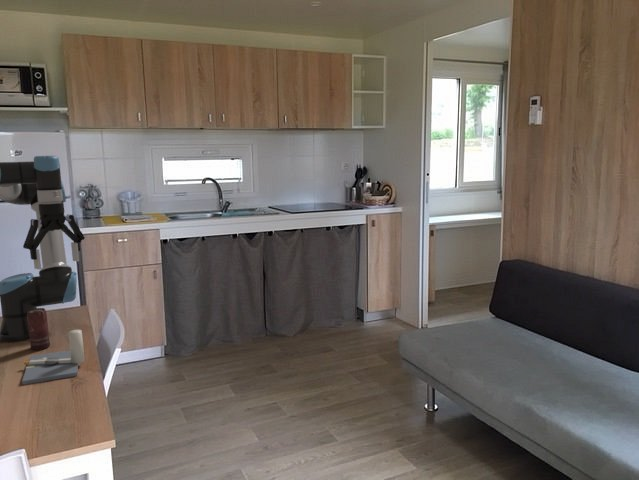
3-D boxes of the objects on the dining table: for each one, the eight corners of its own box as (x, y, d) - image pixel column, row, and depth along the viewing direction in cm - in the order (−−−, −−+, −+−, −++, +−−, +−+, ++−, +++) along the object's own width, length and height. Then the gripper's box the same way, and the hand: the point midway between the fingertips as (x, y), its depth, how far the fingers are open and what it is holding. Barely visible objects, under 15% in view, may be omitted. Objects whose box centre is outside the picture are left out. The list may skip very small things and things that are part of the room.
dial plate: (30, 359, 179) (29, 355, 179) (79, 352, 184) (79, 348, 184) (21, 385, 159) (21, 380, 158) (77, 375, 164) (76, 372, 164)
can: (42, 351, 186) (38, 312, 184) (27, 350, 187) (22, 312, 185) (54, 345, 192) (50, 307, 190) (39, 344, 193) (35, 307, 191)
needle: (21, 366, 169) (17, 336, 167) (28, 361, 173) (24, 331, 171) (81, 363, 170) (78, 333, 168) (86, 358, 174) (83, 329, 172)
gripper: (19, 207, 164) (26, 273, 167) (91, 199, 184) (97, 259, 188) (6, 205, 168) (14, 271, 172) (78, 198, 188) (84, 256, 192)
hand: (57, 264), depth 180 cm, fingers open, 13 cm apart
